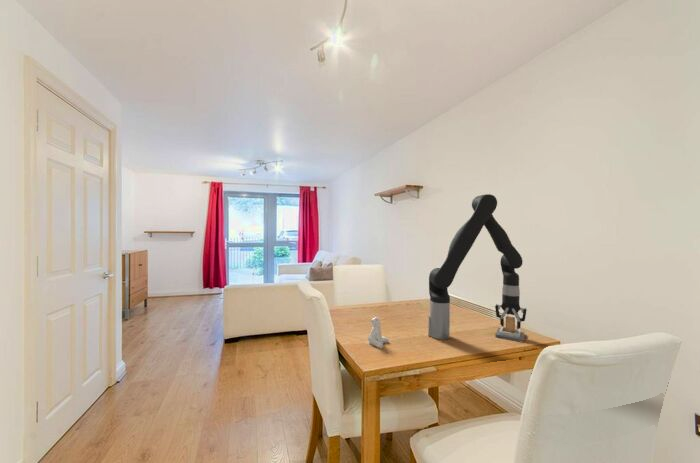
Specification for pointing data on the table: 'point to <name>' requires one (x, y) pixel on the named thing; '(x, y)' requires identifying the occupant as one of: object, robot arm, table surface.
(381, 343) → the white creature statuette
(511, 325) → the brown peg
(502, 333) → the housing
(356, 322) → the table surface
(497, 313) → the robot arm
